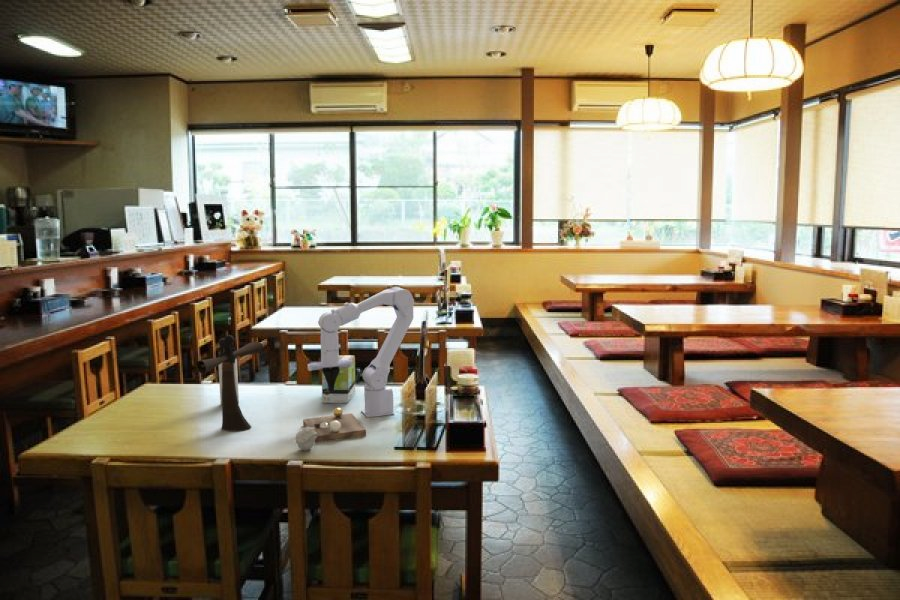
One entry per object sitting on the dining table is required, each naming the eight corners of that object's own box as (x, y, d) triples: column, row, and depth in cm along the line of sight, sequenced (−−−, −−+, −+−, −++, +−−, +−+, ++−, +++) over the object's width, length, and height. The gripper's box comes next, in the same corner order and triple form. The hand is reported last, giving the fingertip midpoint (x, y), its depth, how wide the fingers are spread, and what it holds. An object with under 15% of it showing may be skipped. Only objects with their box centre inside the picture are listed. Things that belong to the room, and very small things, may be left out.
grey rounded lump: (308, 455, 187) (307, 431, 186) (290, 451, 191) (289, 427, 190) (323, 449, 192) (322, 425, 191) (305, 444, 196) (304, 422, 195)
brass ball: (341, 414, 218) (341, 406, 217) (343, 417, 215) (343, 408, 214) (332, 416, 216) (332, 407, 216) (334, 418, 214) (334, 409, 213)
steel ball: (321, 435, 207) (329, 430, 208) (324, 433, 204) (332, 428, 206) (315, 426, 207) (324, 421, 209) (319, 424, 204) (327, 419, 206)
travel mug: (243, 403, 238) (240, 348, 236) (228, 408, 233) (225, 352, 230) (231, 400, 242) (229, 347, 239) (216, 405, 236) (213, 350, 233)
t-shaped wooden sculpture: (250, 412, 228) (246, 326, 224) (275, 414, 225) (271, 327, 221) (192, 442, 198) (186, 344, 194) (220, 445, 195) (215, 345, 191)
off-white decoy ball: (339, 429, 204) (339, 418, 203) (342, 432, 200) (341, 421, 200) (328, 430, 202) (328, 419, 202) (331, 433, 199) (330, 423, 199)
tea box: (349, 403, 238) (348, 363, 236) (321, 403, 238) (320, 363, 236) (356, 392, 253) (355, 354, 251) (329, 392, 253) (328, 354, 251)
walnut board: (351, 419, 220) (351, 413, 219) (366, 435, 203) (366, 429, 203) (303, 425, 214) (303, 419, 213) (313, 443, 197) (313, 436, 197)
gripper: (348, 345, 223) (349, 384, 225) (305, 348, 218) (306, 389, 220) (353, 349, 217) (354, 389, 219) (309, 353, 211) (310, 394, 213)
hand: (331, 389), depth 219 cm, fingers closed
